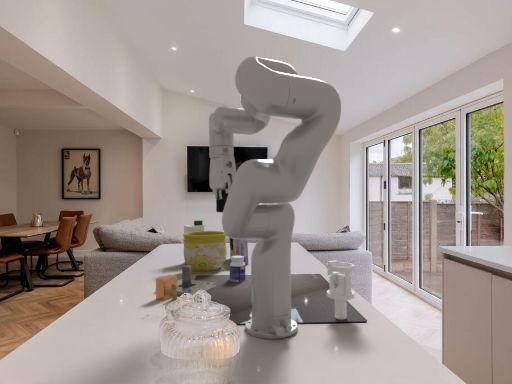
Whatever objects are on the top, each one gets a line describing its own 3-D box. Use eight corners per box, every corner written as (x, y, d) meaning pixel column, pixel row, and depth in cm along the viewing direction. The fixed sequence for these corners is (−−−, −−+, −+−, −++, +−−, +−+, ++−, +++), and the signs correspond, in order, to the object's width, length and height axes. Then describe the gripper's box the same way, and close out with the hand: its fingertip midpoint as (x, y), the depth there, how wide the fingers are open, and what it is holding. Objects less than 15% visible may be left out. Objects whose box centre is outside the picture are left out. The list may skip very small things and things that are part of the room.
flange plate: (182, 282, 127) (182, 265, 127) (216, 286, 121) (216, 268, 121) (142, 296, 109) (141, 277, 110) (179, 302, 103) (178, 281, 103)
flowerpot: (232, 274, 145) (232, 234, 145) (188, 279, 138) (187, 236, 138) (220, 266, 162) (220, 230, 162) (180, 270, 155) (179, 232, 155)
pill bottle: (243, 286, 127) (243, 258, 127) (227, 285, 128) (227, 257, 128) (247, 282, 133) (246, 255, 133) (232, 281, 134) (231, 254, 134)
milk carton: (206, 264, 167) (205, 221, 167) (187, 266, 164) (186, 222, 164) (200, 261, 175) (200, 220, 175) (182, 262, 172) (182, 220, 172)
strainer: (321, 314, 96) (321, 258, 96) (344, 311, 99) (343, 257, 99) (336, 323, 90) (336, 263, 90) (360, 319, 92) (359, 261, 92)
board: (234, 300, 110) (234, 271, 110) (145, 309, 102) (145, 278, 102) (218, 281, 134) (217, 257, 134) (145, 287, 127) (145, 261, 127)
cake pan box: (228, 258, 182) (228, 223, 182) (238, 257, 184) (238, 223, 184) (238, 265, 164) (238, 226, 164) (248, 264, 165) (248, 226, 165)
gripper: (244, 151, 108) (244, 212, 107) (221, 155, 120) (221, 210, 120) (222, 149, 103) (222, 213, 103) (200, 154, 116) (200, 211, 116)
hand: (222, 211), depth 112 cm, fingers closed
